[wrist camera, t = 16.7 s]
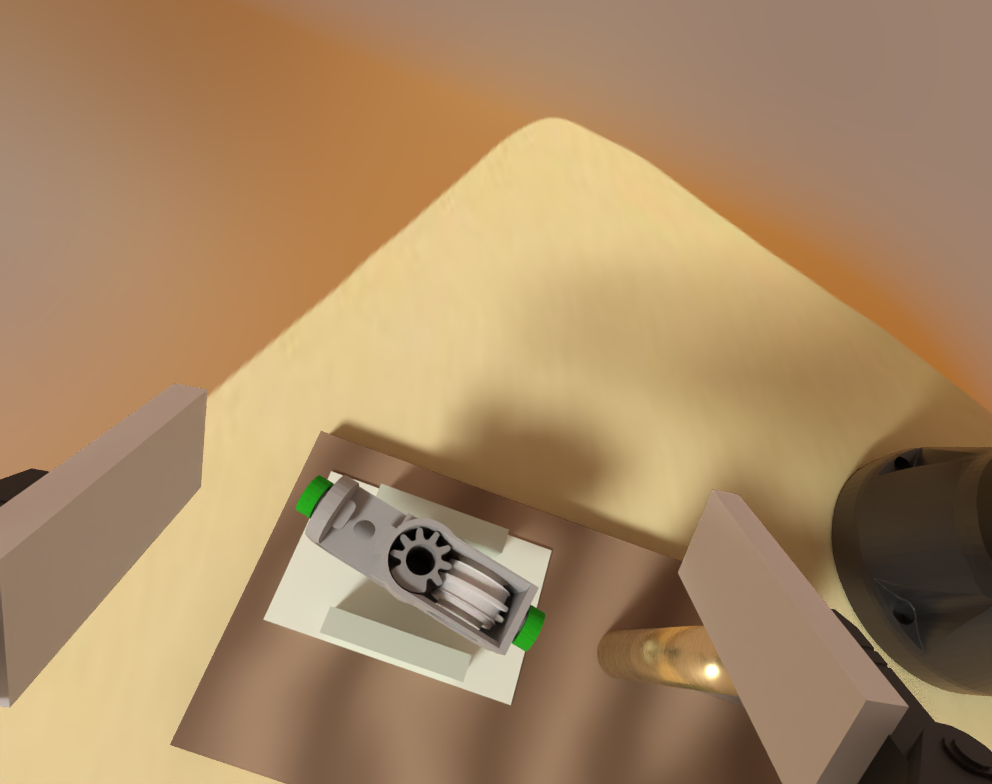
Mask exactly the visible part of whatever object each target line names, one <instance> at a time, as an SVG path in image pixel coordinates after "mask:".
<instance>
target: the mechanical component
mask: <svg viewBox="0 0 992 784" xmlns="http://www.w3.org/2000/svg"><path fill="white" fill-rule="evenodd" d="M295 509H296V510H297V511H298V512H300V513H302V514H303V515H305V516H307V517H308V518H310V521H309V522H308V525H307V527H306V530H305V535H306V536H307V537H308V538H309V540H311V541H312V542H313V543H314V544H316V545H317V546H319V547H320V548H322V549H323V550H325V551H326V552H328V553H329V554H331V555H332V556H334V557H336V558H337V559H339V560H340V561H342V562H344V563H345V564H347V565H348V566H350V567H352V568H353V569H355V570H357V571H358V572H360V573H361V574H363V575H365V576H366V577H368V578H369V579H371V580H373V581H374V582H376V583H377V584H379V585H381V586H382V587H384V588H386V589H387V590H388V592H389V593H390V594H391V595H392V596H394V597H395V598H396V599H398V600H399V601H402V602H404V603H408V604H411V605H413V606H415V607H416V608H418V609H419V610H421V611H423V612H424V613H426V614H428V615H429V616H431V617H432V618H434V619H436V620H437V621H439V622H440V623H442V624H444V625H445V626H447V627H448V628H450V629H452V630H453V631H455V632H457V633H458V634H460V635H461V636H463V637H465V638H466V639H468V640H470V641H471V642H473V643H475V644H477V645H478V646H480V647H482V648H484V649H486V650H488V651H493V652H495V653H496V654H501V655H506V653H507V651H508V649H509V647H510V645H511V643H512V644H514V645H515V646H517V647H519V648H520V649H522V650H523V651H525V652H526V651H528V650H529V649H530V648H531V646H532V645H533V643H534V642H535V640H536V639H537V637H538V635H539V633H540V631H541V629H542V626H543V623H544V620H545V613H544V612H542V611H541V610H539V609H537V608H536V607H534V606H532V605H531V603H532V601H533V599H534V597H535V595H536V593H537V591H538V588H539V587H537V586H536V585H534V584H532V583H531V582H529V581H527V580H526V579H524V578H522V577H521V576H519V575H518V574H516V573H514V572H513V571H511V570H509V569H508V568H506V567H505V566H503V565H501V564H500V563H498V562H496V561H495V560H493V559H492V558H490V557H488V556H487V555H485V554H483V553H482V552H480V551H478V550H477V549H475V548H474V547H472V546H470V545H469V544H467V543H465V542H464V541H462V540H461V539H459V538H457V537H456V536H455V535H454V534H453V533H452V531H451V530H450V529H449V528H447V527H446V526H445V525H444V524H442V523H440V522H438V521H435V520H432V519H426V518H419V519H418V518H416V517H415V516H413V515H411V514H410V513H408V514H407V515H405V514H403V513H402V512H400V511H399V510H397V509H395V508H394V507H392V506H390V505H389V504H387V503H385V502H384V501H382V500H381V499H379V498H377V497H376V496H374V495H372V494H371V493H369V492H368V491H366V490H364V489H363V488H361V487H359V483H358V482H356V481H355V480H353V479H351V478H350V477H348V476H346V475H344V476H342V477H341V478H340V479H339V480H338V481H337V482H336V483H335V484H334V483H332V482H330V481H329V480H327V479H326V478H324V477H322V476H321V475H318V476H317V477H315V478H314V479H313V480H312V481H311V482H310V484H309V485H308V486H307V488H306V489H305V490H304V492H303V493H302V495H301V496H300V498H299V500H298V502H297V505H296V508H295Z"/></svg>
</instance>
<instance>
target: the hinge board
mask: <svg viewBox="0 0 992 784" xmlns="http://www.w3.org/2000/svg"><path fill="white" fill-rule="evenodd" d="M318 475H321V476H322V477H324V478H326V479H327V480H329V481H330V482H332V483H334V484H335V483H336V482H337V481H338V480H339V479H340V478H341V477H342V476H344V475H346V476H348V477H350V478H351V479H353V480H355V481H356V482H358V483H359V487H361V488H363V489H364V490H366V491H368V492H369V493H371V494H372V495H374V496H376V497H377V498H379V499H381V500H382V501H384V502H385V503H387V504H389V505H390V506H392V507H394V508H395V509H397V510H399V511H400V512H402V513H403V514H405V515H407V514H408V513H410V514H411V515H413V516H415V517H416V518H418V519H419V518H426V519H432V520H435V521H438V522H440V523H442V524H444V525H445V526H446V527H447V528H449V529H450V530H451V531H452V533H453V534H454V535H455V536H456V537H457V538H459V539H461V540H462V541H464V542H465V543H467V544H469V545H470V546H472V547H474V548H475V549H477V550H478V551H480V552H482V553H483V554H485V555H487V556H488V557H490V558H492V559H493V560H495V561H496V562H498V563H500V564H501V565H503V566H505V567H506V568H508V569H509V570H511V571H513V572H514V573H516V574H518V575H519V576H521V577H522V578H524V579H526V580H527V581H529V582H531V583H532V584H534V585H536V586H537V587H539V588H538V591H537V593H536V595H535V597H534V599H533V601H532V603H531V605H532V606H534V607H536V608H537V609H539V610H541V611H542V612H544V613H545V620H544V623H543V626H542V629H541V631H540V633H539V635H538V637H537V639H536V640H535V642H534V643H533V645H532V646H531V648H530V649H529V650H528V651H526V652H525V651H523V650H522V649H520V648H519V647H517V646H515V645H514V644H512V643H511V645H510V647H509V649H508V651H507V653H506V655H501V654H496V653H495V652H493V651H488V650H486V649H484V648H482V647H480V646H478V645H477V644H475V643H473V642H471V641H470V640H468V639H466V638H465V637H463V636H461V635H460V634H458V633H457V632H455V631H453V630H452V629H450V628H448V627H447V626H445V625H444V624H442V623H440V622H439V621H437V620H436V619H434V618H432V617H431V616H429V615H428V614H426V613H424V612H423V611H421V610H419V609H418V608H416V607H415V606H413V605H411V604H408V603H404V602H402V601H399V600H398V599H396V598H395V597H394V596H392V595H391V594H390V593H389V592H388V590H387V589H386V588H384V587H382V586H381V585H379V584H377V583H376V582H374V581H373V580H371V579H369V578H368V577H366V576H365V575H363V574H361V573H360V572H358V571H357V570H355V569H353V568H352V567H350V566H348V565H347V564H345V563H344V562H342V561H340V560H339V559H337V558H336V557H334V556H332V555H331V554H329V553H328V552H326V551H325V550H323V549H322V548H320V547H319V546H317V545H316V544H314V543H313V542H312V541H311V540H309V538H308V537H307V536H306V535H305V530H306V527H307V525H308V522H309V521H310V518H308V517H307V516H305V515H303V514H302V513H300V512H298V511H297V510H296V509H295V508H296V505H297V502H298V500H299V498H300V496H301V495H302V493H303V492H304V490H305V489H306V488H307V486H308V485H309V484H310V482H311V481H312V480H313V479H314V478H315V477H317V476H318ZM681 564H682V562H681V561H678V560H675V559H673V558H670V557H667V556H664V555H662V554H659V553H656V552H653V551H651V550H648V549H645V548H642V547H640V546H637V545H634V544H631V543H629V542H626V541H623V540H620V539H618V538H615V537H612V536H609V535H606V534H604V533H601V532H598V531H595V530H593V529H590V528H587V527H584V526H582V525H579V524H576V523H573V522H571V521H568V520H565V519H562V518H560V517H557V516H554V515H551V514H549V513H546V512H543V511H540V510H538V509H535V508H532V507H529V506H527V505H524V504H521V503H518V502H516V501H513V500H510V499H507V498H505V497H502V496H499V495H496V494H493V493H491V492H488V491H485V490H482V489H480V488H477V487H474V486H471V485H469V484H466V483H463V482H460V481H458V480H455V479H452V478H449V477H447V476H444V475H441V474H438V473H436V472H433V471H430V470H427V469H425V468H422V467H419V466H416V465H414V464H411V463H408V462H405V461H403V460H400V459H397V458H394V457H392V456H389V455H386V454H383V453H380V452H378V451H375V450H372V449H369V448H367V447H364V446H361V445H358V444H356V443H353V442H350V441H347V440H345V439H342V438H339V437H336V436H334V435H331V434H328V433H325V432H323V431H321V432H320V434H319V436H318V438H317V440H316V442H315V445H314V447H313V449H312V451H311V453H310V455H309V457H308V459H307V461H306V463H305V465H304V467H303V469H302V472H301V474H300V476H299V478H298V480H297V482H296V484H295V486H294V488H293V490H292V492H291V494H290V496H289V499H288V501H287V503H286V505H285V507H284V509H283V511H282V513H281V515H280V517H279V519H278V521H277V523H276V526H275V528H274V530H273V532H272V534H271V536H270V538H269V540H268V542H267V544H266V546H265V548H264V551H263V553H262V555H261V557H260V559H259V561H258V563H257V565H256V567H255V569H254V571H253V573H252V575H251V578H250V580H249V582H248V584H247V586H246V588H245V590H244V592H243V594H242V596H241V598H240V600H239V602H238V605H237V607H236V609H235V611H234V613H233V615H232V617H231V619H230V621H229V623H228V625H227V627H226V629H225V632H224V634H223V636H222V638H221V640H220V642H219V644H218V646H217V648H216V650H215V652H214V654H213V656H212V659H211V661H210V663H209V665H208V667H207V669H206V671H205V673H204V675H203V677H202V679H201V681H200V683H199V686H198V688H197V690H196V692H195V694H194V696H193V698H192V700H191V702H190V704H189V706H188V708H187V710H186V713H185V715H184V717H183V719H182V721H181V723H180V725H179V727H178V729H177V731H176V733H175V735H174V737H173V740H172V742H171V744H170V745H172V746H175V747H178V748H181V749H184V750H187V751H190V752H193V753H196V754H199V755H202V756H205V757H208V758H211V759H214V760H217V761H220V762H223V763H226V764H229V765H232V766H235V767H238V768H241V769H244V770H247V771H250V772H253V773H256V774H259V775H262V776H265V777H268V778H271V779H274V780H277V781H280V782H283V783H286V784H782V782H781V780H780V778H779V776H778V774H777V772H776V770H775V768H774V766H773V764H772V762H771V760H770V758H769V756H768V754H767V752H766V750H765V748H764V746H763V744H762V742H761V739H760V737H759V735H758V733H757V731H756V729H755V727H754V725H753V723H752V721H751V719H750V717H749V715H748V713H747V711H746V709H745V707H744V705H743V703H742V701H741V699H740V697H739V695H738V693H737V691H736V689H735V687H734V685H733V683H732V681H731V679H730V677H729V675H728V673H727V671H726V669H725V667H724V665H723V663H722V661H721V659H720V657H719V655H718V653H717V651H716V649H715V647H714V645H713V643H712V641H711V639H710V637H709V635H708V633H707V631H706V629H705V627H704V624H703V622H702V620H701V618H700V616H699V614H698V612H697V610H696V608H695V606H694V604H693V602H692V600H691V598H690V596H689V594H688V592H687V590H686V588H685V586H684V584H683V582H682V580H681V578H680V576H679V574H678V571H679V569H680V566H681Z"/></svg>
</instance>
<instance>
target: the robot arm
mask: <svg viewBox="0 0 992 784" xmlns="http://www.w3.org/2000/svg"><path fill="white" fill-rule="evenodd" d="M206 401H207V390H206V389H202V388H197V387H191V386H186V385H182V384H176V383H174V384H173V385H171V386H170V387H168V388H167V389H166V390H164V391H163V392H161V393H160V394H159V395H157V396H156V397H154V398H153V399H152V400H150V401H149V402H147V403H146V404H145V405H143V406H142V407H140V408H139V409H138V410H136V411H135V412H133V413H132V414H131V415H129V416H128V417H126V418H125V419H124V420H122V421H121V422H119V423H118V424H116V425H115V426H114V427H112V428H111V429H109V430H108V431H107V432H105V433H104V434H102V435H101V436H100V437H98V438H97V439H95V440H94V441H93V442H91V443H90V444H88V445H87V446H85V447H84V448H83V449H81V450H80V451H79V452H77V453H76V454H74V455H73V456H71V457H70V458H69V459H67V460H66V461H64V462H63V463H62V464H60V465H59V466H58V467H56V468H55V469H53V470H52V471H50V472H48V471H43V470H36V469H29V470H26V471H23V472H20V473H17V474H15V475H12V476H9V477H6V478H4V479H1V480H0V706H2V707H9V708H10V707H11V706H12V704H13V703H14V702H15V701H16V700H17V699H18V698H19V696H20V695H21V694H22V693H23V692H24V691H25V689H26V688H27V687H28V686H29V685H30V684H31V683H32V681H33V680H34V679H35V678H36V677H37V676H38V674H39V673H40V672H41V671H42V670H43V669H44V668H45V666H46V665H47V664H48V663H49V662H50V661H51V659H52V658H53V657H54V656H55V655H56V654H57V653H58V651H59V650H60V649H61V648H62V647H63V646H64V644H65V643H66V642H67V641H68V640H69V639H70V638H71V636H72V635H73V634H74V633H75V632H76V631H77V629H78V628H79V627H80V626H81V625H82V624H83V622H84V621H85V620H86V619H87V618H88V617H89V616H90V614H91V613H92V612H93V611H94V610H95V609H96V607H97V606H98V605H99V604H100V603H101V602H102V601H103V599H104V598H105V597H106V596H107V595H108V594H109V592H110V591H111V590H112V589H113V588H114V587H115V586H116V584H117V583H118V582H119V581H120V580H121V579H122V577H123V576H124V575H125V574H126V573H127V572H128V571H129V569H130V568H131V567H132V566H133V565H134V564H135V562H136V561H137V560H138V559H139V558H140V557H141V556H142V554H143V553H144V552H145V551H146V550H147V549H148V547H149V546H150V545H151V544H152V543H153V542H154V541H155V539H156V538H157V537H158V536H159V535H160V534H161V532H162V531H163V530H164V529H165V528H166V527H167V526H168V524H169V523H170V522H171V521H172V520H173V519H174V517H175V516H176V515H177V514H178V513H179V512H180V510H181V509H182V508H183V507H184V506H185V505H186V504H187V502H188V501H189V500H190V499H191V498H192V497H193V495H194V494H195V493H196V492H197V491H198V490H199V489H200V487H201V477H202V462H203V447H204V431H205V416H206ZM832 540H833V551H834V557H835V563H836V567H837V571H838V574H839V577H840V581H841V583H842V586H843V589H844V591H845V593H846V596H847V598H848V600H849V602H850V604H851V606H852V608H853V610H854V612H855V613H856V615H857V617H858V618H859V620H860V621H861V623H862V625H863V626H864V627H865V629H866V630H867V632H868V633H869V634H870V636H871V637H872V638H873V639H874V640H875V642H876V643H877V644H878V645H879V646H880V647H881V648H882V649H883V651H884V652H886V653H887V654H888V655H889V656H890V657H891V658H892V659H893V660H894V661H895V662H896V663H898V664H899V665H900V666H901V667H903V668H904V669H905V670H906V671H908V672H909V673H911V674H912V675H914V676H916V677H917V678H919V679H921V680H922V681H924V682H926V683H928V684H930V685H933V686H935V687H938V688H940V689H943V690H947V691H950V692H955V693H961V694H970V695H982V696H992V447H924V448H914V449H908V450H903V451H899V452H897V453H894V454H891V455H888V456H886V457H883V458H880V459H877V460H875V461H872V462H870V463H868V464H866V465H865V466H863V467H862V468H860V469H859V470H858V471H857V472H856V473H854V474H853V475H852V477H851V478H850V479H849V480H848V482H847V483H846V484H845V486H844V488H843V489H842V491H841V493H840V496H839V498H838V501H837V504H836V508H835V511H834V517H833V527H832ZM678 574H679V576H680V578H681V580H682V582H683V584H684V586H685V588H686V590H687V592H688V594H689V596H690V598H691V600H692V602H693V604H694V606H695V608H696V610H697V612H698V614H699V616H700V618H701V620H702V622H703V624H704V627H705V629H706V631H707V633H708V635H709V637H710V639H711V641H712V643H713V645H714V647H715V649H716V651H717V653H718V655H719V657H720V659H721V661H722V663H723V665H724V667H725V669H726V671H727V673H728V675H729V677H730V679H731V681H732V683H733V685H734V687H735V689H736V691H737V693H738V695H739V697H740V699H741V701H742V703H743V705H744V707H745V709H746V711H747V713H748V715H749V717H750V719H751V721H752V723H753V725H754V727H755V729H756V731H757V733H758V735H759V737H760V739H761V742H762V744H763V746H764V748H765V750H766V752H767V754H768V756H769V758H770V760H771V762H772V764H773V766H774V768H775V770H776V772H777V774H778V776H779V778H780V780H781V782H782V784H992V752H991V751H990V750H989V749H988V748H987V747H986V746H985V745H983V744H982V743H980V742H979V741H977V740H976V739H974V738H973V737H971V736H970V735H969V734H967V733H965V732H963V731H961V730H959V729H957V728H954V727H952V726H950V725H946V724H942V723H938V722H935V721H934V720H933V719H932V717H931V716H930V715H929V714H928V713H927V711H926V710H925V709H924V708H923V707H922V705H921V704H920V703H919V702H918V701H917V699H916V698H915V697H914V696H913V695H912V693H911V692H910V691H909V690H908V688H907V687H906V686H905V685H904V684H903V682H902V681H901V680H900V679H899V678H898V676H897V675H896V674H895V673H894V672H893V670H892V669H891V668H888V667H887V663H886V662H885V661H884V659H883V658H882V657H881V656H880V655H879V653H878V652H876V651H874V647H873V646H872V645H871V644H870V642H869V641H868V640H867V639H866V638H865V636H864V635H863V634H862V633H861V632H860V630H859V629H858V628H857V627H856V626H854V625H853V624H852V623H851V622H850V621H848V620H847V619H846V618H845V617H843V616H842V615H841V614H840V613H839V612H837V611H836V610H834V609H830V608H829V606H828V605H827V604H826V603H825V601H824V600H823V599H822V598H821V596H820V595H819V594H818V593H817V591H816V590H815V589H814V588H813V586H812V585H811V584H810V583H809V581H808V580H807V579H806V578H805V576H804V575H803V574H802V573H801V571H800V570H799V569H798V568H797V566H796V565H795V564H794V563H793V561H792V560H791V559H790V558H789V556H788V555H787V554H786V553H785V551H784V550H783V549H782V548H781V546H780V545H779V544H778V543H777V541H776V540H775V539H774V538H773V536H772V535H771V534H770V533H769V531H768V530H767V529H766V528H765V526H764V525H763V524H762V523H761V521H760V520H759V519H758V518H757V516H756V515H755V514H754V513H753V512H752V510H751V509H750V508H749V507H748V505H747V504H746V503H745V502H744V500H743V499H742V498H741V497H740V495H739V494H734V493H729V492H724V491H718V490H713V489H712V491H711V494H710V496H709V498H708V501H707V503H706V506H705V508H704V510H703V513H702V515H701V518H700V520H699V523H698V525H697V527H696V530H695V532H694V535H693V537H692V539H691V542H690V544H689V547H688V549H687V552H686V554H685V556H684V559H683V561H682V564H681V566H680V569H679V571H678Z"/></svg>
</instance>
